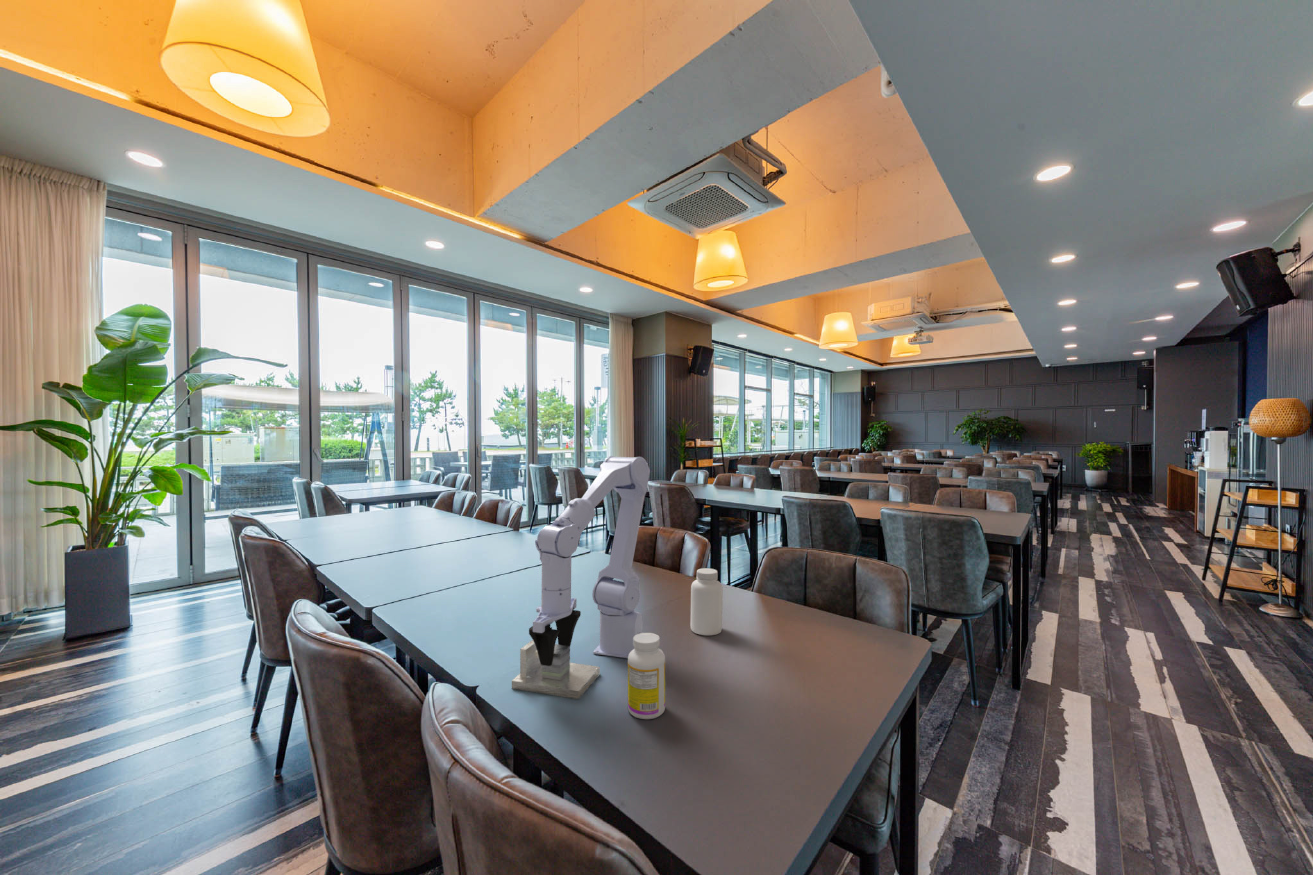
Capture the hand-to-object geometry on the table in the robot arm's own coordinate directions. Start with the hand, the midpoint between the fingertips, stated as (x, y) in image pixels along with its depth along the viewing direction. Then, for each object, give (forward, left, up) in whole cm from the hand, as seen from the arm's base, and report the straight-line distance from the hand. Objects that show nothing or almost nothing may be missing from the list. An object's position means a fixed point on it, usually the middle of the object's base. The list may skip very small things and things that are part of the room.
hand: (555, 656), depth 95 cm
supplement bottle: (-20, +4, -5) cm, 21 cm away
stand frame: (0, -1, -5) cm, 5 cm away
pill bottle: (-24, -35, -5) cm, 42 cm away
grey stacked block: (0, 0, -4) cm, 4 cm away
